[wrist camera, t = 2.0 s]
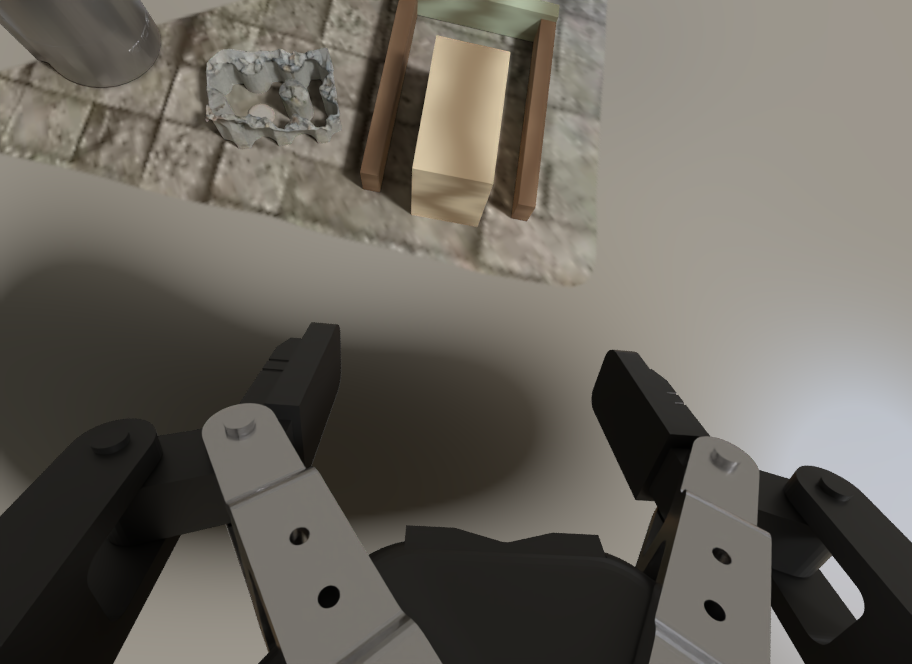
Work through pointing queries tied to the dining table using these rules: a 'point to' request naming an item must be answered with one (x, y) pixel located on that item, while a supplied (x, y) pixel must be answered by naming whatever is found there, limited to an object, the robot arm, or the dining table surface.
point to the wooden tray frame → (490, 9)
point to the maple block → (459, 131)
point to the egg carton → (257, 78)
